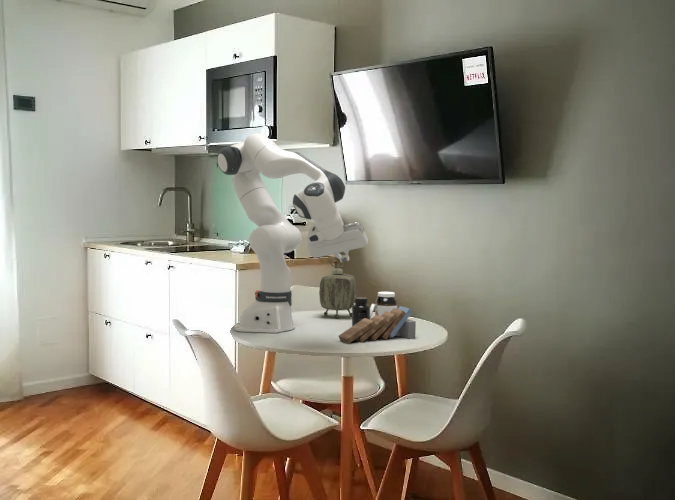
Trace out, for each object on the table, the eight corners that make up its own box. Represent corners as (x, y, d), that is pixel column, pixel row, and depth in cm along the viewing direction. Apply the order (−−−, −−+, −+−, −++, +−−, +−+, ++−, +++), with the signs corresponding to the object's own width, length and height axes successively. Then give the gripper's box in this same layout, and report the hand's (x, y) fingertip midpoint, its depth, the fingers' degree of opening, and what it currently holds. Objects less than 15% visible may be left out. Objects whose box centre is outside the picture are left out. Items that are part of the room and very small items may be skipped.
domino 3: (371, 337, 234) (394, 313, 238) (362, 334, 239) (385, 311, 243) (374, 341, 235) (397, 317, 239) (365, 337, 240) (388, 314, 244)
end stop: (408, 338, 239) (408, 322, 239) (392, 333, 248) (392, 317, 248) (415, 338, 241) (415, 321, 240) (399, 333, 250) (399, 316, 249)
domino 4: (382, 336, 236) (402, 310, 240) (373, 333, 242) (393, 307, 245) (385, 339, 237) (405, 313, 240) (376, 336, 242) (396, 310, 246)
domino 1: (346, 339, 229) (373, 320, 234) (338, 336, 235) (364, 317, 239) (348, 343, 230) (375, 325, 235) (340, 340, 235) (366, 322, 240)
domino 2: (359, 338, 232) (385, 317, 236) (351, 335, 237) (375, 314, 241) (362, 342, 232) (387, 321, 237) (353, 339, 238) (378, 318, 242)
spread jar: (399, 323, 269) (399, 294, 269) (372, 324, 266) (373, 294, 265) (388, 318, 281) (389, 290, 280) (362, 319, 278) (363, 290, 277)
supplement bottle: (372, 328, 257) (373, 297, 256) (365, 332, 250) (366, 299, 250) (355, 327, 259) (356, 296, 259) (348, 330, 253) (349, 298, 252)
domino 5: (389, 334, 238) (409, 308, 241) (380, 331, 243) (400, 306, 246) (392, 337, 239) (412, 311, 242) (383, 334, 244) (403, 309, 247)
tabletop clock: (355, 316, 284) (357, 256, 282) (353, 320, 275) (354, 258, 273) (321, 314, 286) (322, 255, 284) (318, 318, 277) (319, 257, 275)
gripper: (361, 215, 223) (375, 248, 230) (305, 229, 230) (319, 261, 237) (359, 226, 218) (373, 259, 225) (301, 240, 225) (316, 272, 232)
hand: (345, 260), depth 231 cm, fingers closed
